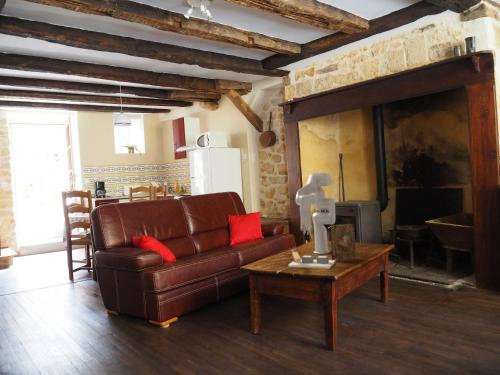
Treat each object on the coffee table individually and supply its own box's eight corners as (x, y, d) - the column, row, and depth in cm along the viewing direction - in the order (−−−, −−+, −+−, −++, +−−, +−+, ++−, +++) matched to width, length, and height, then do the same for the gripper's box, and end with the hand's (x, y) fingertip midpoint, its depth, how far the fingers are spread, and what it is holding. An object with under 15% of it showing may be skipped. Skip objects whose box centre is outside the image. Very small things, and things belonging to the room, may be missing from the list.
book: (353, 258, 295) (351, 223, 294) (357, 259, 289) (355, 224, 288) (331, 260, 291) (330, 225, 291) (335, 262, 286) (333, 226, 285)
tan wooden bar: (297, 255, 288) (296, 249, 288) (301, 263, 262) (301, 256, 262) (291, 255, 289) (291, 249, 288) (295, 264, 262) (295, 257, 262)
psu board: (296, 261, 296) (295, 253, 296) (335, 262, 285) (334, 254, 285) (288, 266, 279) (288, 258, 279) (329, 268, 268) (329, 259, 268)
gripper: (303, 212, 289) (304, 238, 290) (297, 215, 276) (298, 242, 277) (313, 212, 286) (315, 238, 287) (307, 215, 273) (309, 242, 273)
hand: (307, 240), depth 282 cm, fingers closed
